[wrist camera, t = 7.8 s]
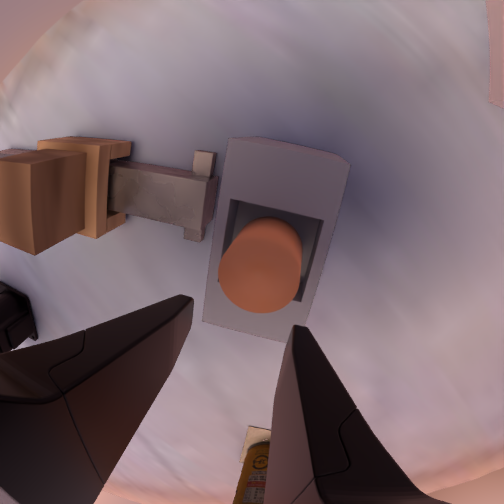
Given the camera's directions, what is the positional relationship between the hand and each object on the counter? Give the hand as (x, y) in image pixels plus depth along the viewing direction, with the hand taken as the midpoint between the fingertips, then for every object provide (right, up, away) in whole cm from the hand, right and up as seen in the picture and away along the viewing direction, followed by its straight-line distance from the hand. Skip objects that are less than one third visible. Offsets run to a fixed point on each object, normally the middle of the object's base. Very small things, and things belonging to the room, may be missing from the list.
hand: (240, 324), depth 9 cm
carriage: (-11, +8, +13) cm, 19 cm away
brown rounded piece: (+1, +2, +5) cm, 6 cm away
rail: (-13, +8, +13) cm, 20 cm away
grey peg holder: (+2, +4, +11) cm, 12 cm away
